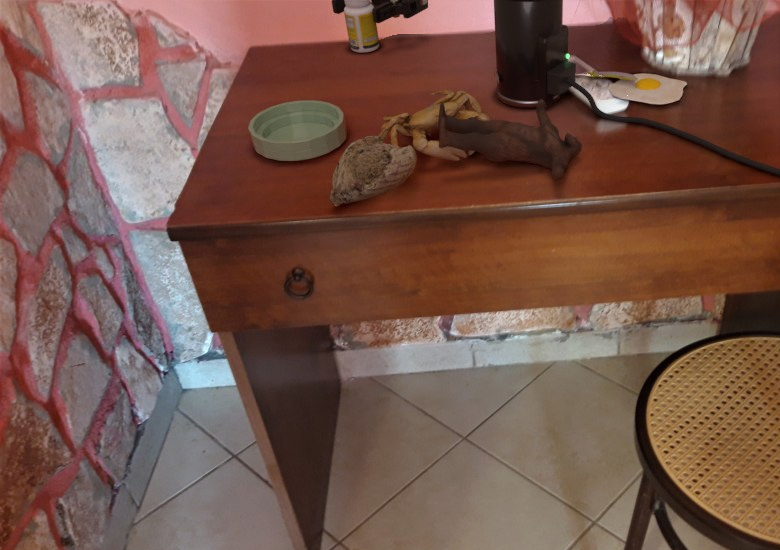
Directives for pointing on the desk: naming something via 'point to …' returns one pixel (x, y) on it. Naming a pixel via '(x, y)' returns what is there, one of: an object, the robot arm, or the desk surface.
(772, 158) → the desk surface
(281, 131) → the dish
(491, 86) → the desk surface
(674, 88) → the cracked egg
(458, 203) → the desk surface
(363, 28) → the supplement bottle
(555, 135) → the figurine
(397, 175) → the seashell
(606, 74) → the decorative knife
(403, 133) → the crab model
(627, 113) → the desk surface
